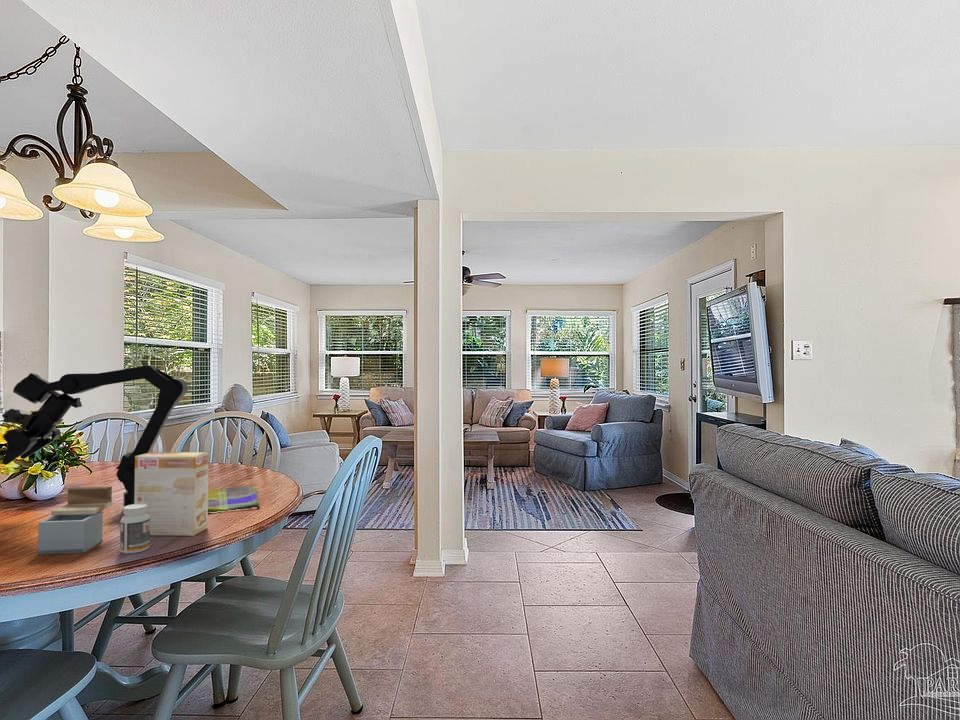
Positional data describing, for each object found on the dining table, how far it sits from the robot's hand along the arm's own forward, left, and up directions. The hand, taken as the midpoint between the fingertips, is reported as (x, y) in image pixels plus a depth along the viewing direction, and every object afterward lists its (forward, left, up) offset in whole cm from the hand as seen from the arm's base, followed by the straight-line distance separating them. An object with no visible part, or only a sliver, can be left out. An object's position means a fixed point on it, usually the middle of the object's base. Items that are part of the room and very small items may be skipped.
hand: (13, 461), depth 148 cm
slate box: (-11, +41, -15) cm, 45 cm away
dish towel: (-50, +20, -16) cm, 56 cm away
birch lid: (-13, +37, -8) cm, 40 cm away
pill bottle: (-22, +52, -15) cm, 58 cm away
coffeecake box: (-31, +42, -15) cm, 54 cm away
